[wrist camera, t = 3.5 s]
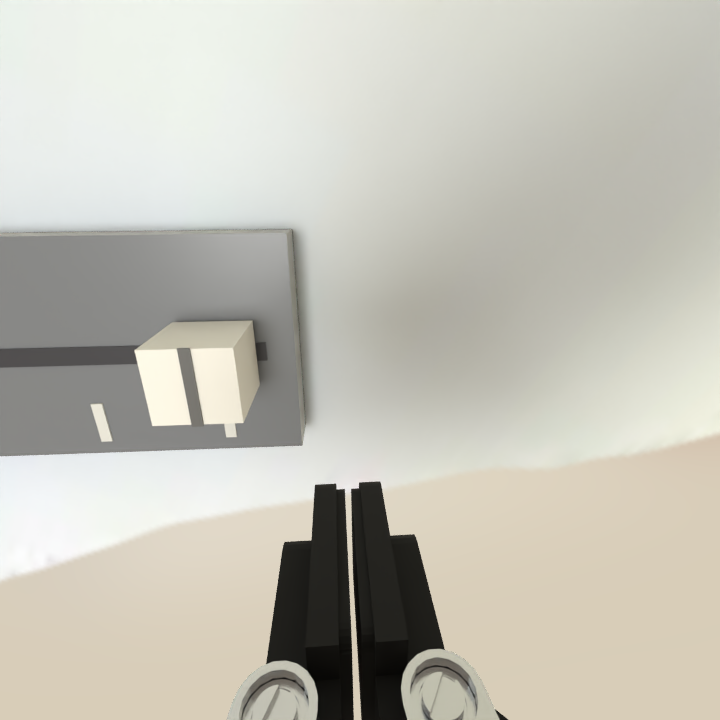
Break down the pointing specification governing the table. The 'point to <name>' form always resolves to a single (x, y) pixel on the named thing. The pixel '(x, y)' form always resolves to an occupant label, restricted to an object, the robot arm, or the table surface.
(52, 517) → the table surface
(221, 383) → the fader knob
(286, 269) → the fader console
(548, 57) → the table surface
